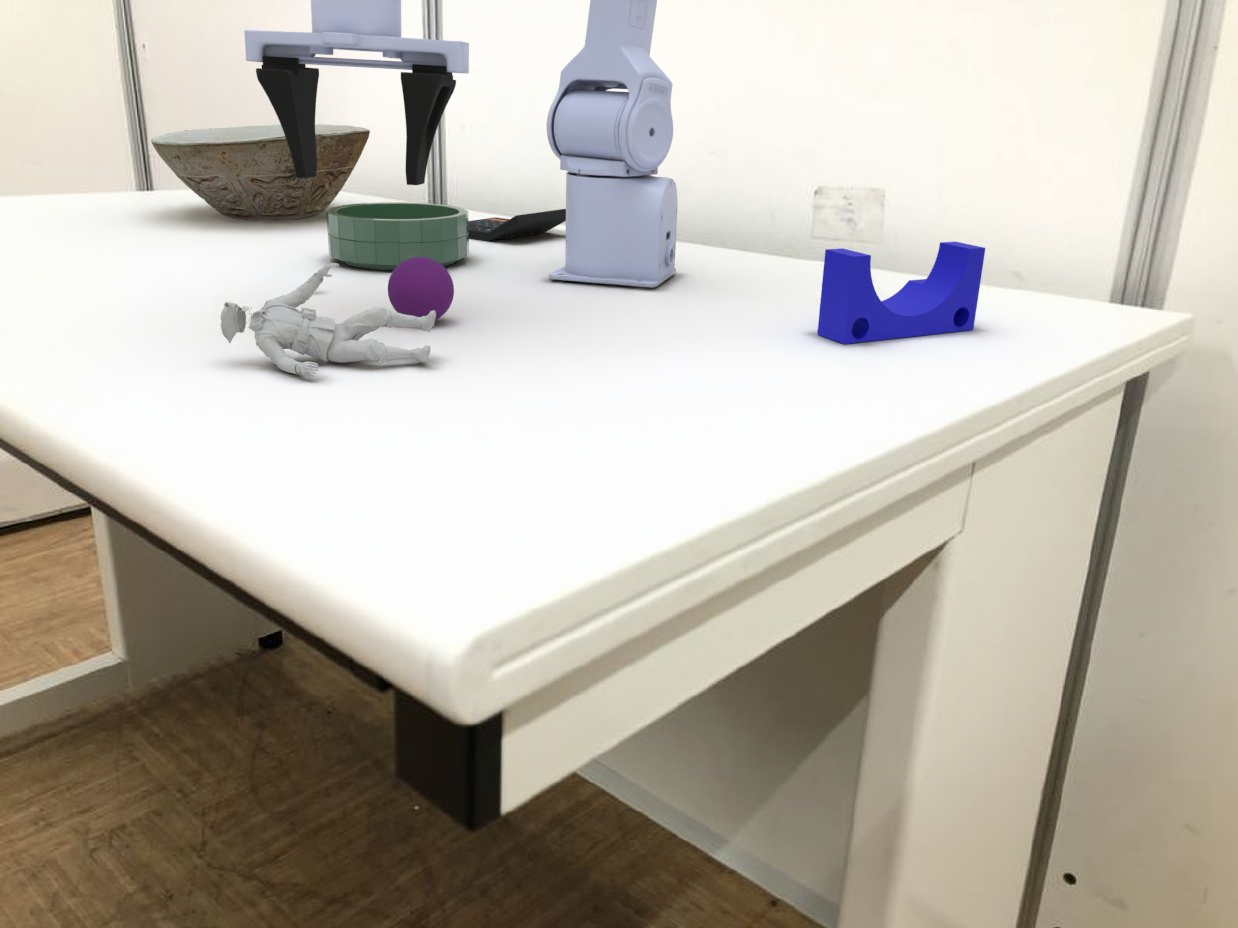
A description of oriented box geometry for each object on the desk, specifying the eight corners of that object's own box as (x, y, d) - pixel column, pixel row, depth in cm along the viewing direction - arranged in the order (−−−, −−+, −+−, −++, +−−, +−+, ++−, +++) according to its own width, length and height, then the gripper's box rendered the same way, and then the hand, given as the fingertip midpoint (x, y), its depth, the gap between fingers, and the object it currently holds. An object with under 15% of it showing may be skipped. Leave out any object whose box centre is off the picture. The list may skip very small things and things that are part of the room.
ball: (465, 318, 77) (463, 254, 76) (437, 332, 73) (435, 265, 72) (407, 312, 79) (405, 250, 77) (377, 326, 74) (373, 260, 73)
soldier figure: (425, 396, 63) (212, 340, 58) (404, 429, 67) (203, 380, 62) (442, 287, 66) (242, 227, 62) (422, 325, 70) (232, 271, 66)
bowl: (115, 224, 115) (101, 127, 111) (226, 199, 137) (218, 118, 133) (322, 235, 111) (315, 135, 108) (402, 208, 133) (398, 124, 130)
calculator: (495, 225, 122) (495, 198, 121) (575, 236, 116) (576, 208, 115) (437, 233, 115) (436, 205, 114) (519, 245, 109) (519, 216, 108)
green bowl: (489, 254, 103) (488, 207, 102) (432, 277, 92) (430, 224, 90) (372, 245, 106) (369, 199, 105) (303, 265, 95) (299, 214, 93)
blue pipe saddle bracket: (930, 317, 82) (940, 238, 80) (973, 329, 79) (985, 247, 76) (804, 329, 77) (812, 246, 75) (844, 344, 73) (853, 256, 71)
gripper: (218, -51, 65) (232, 178, 70) (451, -40, 64) (450, 191, 69) (265, -37, 72) (275, 171, 76) (476, -26, 71) (474, 184, 75)
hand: (360, 180), depth 73 cm, fingers open, 7 cm apart
